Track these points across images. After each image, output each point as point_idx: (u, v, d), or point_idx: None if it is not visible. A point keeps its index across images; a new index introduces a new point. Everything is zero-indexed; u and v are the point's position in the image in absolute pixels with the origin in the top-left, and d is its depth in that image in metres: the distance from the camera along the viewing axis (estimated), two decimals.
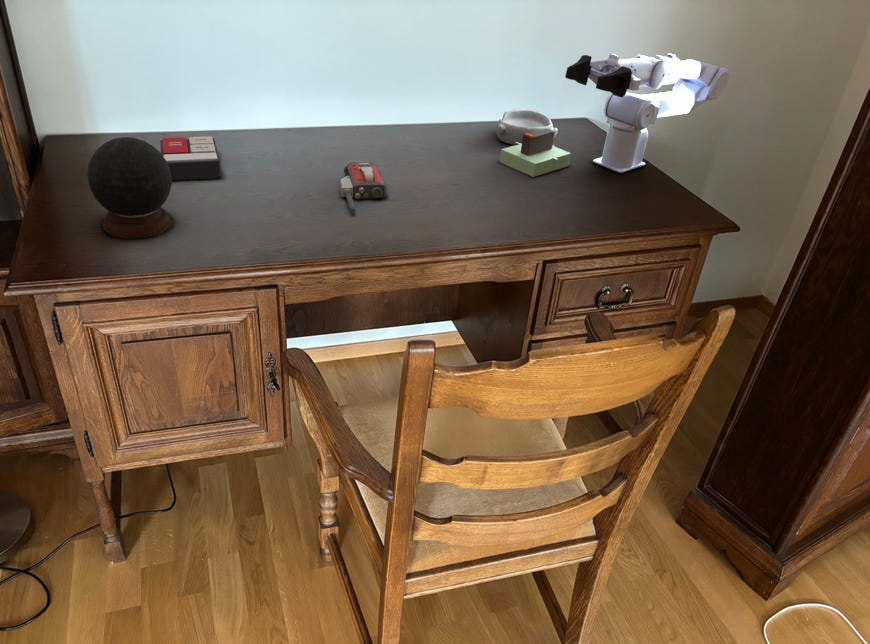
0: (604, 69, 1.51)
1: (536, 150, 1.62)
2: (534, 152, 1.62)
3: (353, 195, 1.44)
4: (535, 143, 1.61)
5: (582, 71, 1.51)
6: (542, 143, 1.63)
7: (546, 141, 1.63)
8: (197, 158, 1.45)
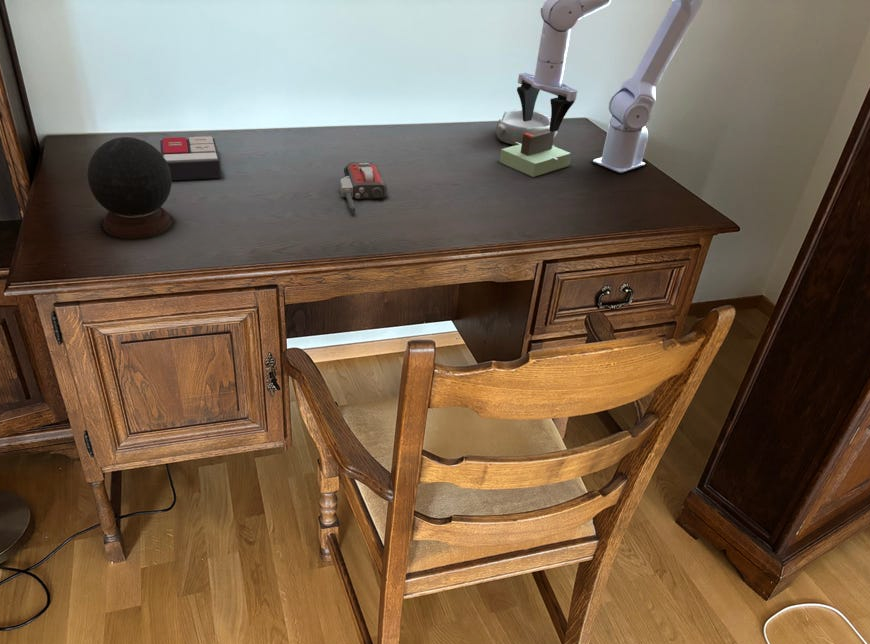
0: None
1: (536, 150, 1.62)
2: (534, 152, 1.62)
3: (353, 195, 1.44)
4: (535, 143, 1.61)
5: (530, 99, 1.60)
6: (542, 143, 1.63)
7: (546, 141, 1.63)
8: (197, 158, 1.45)
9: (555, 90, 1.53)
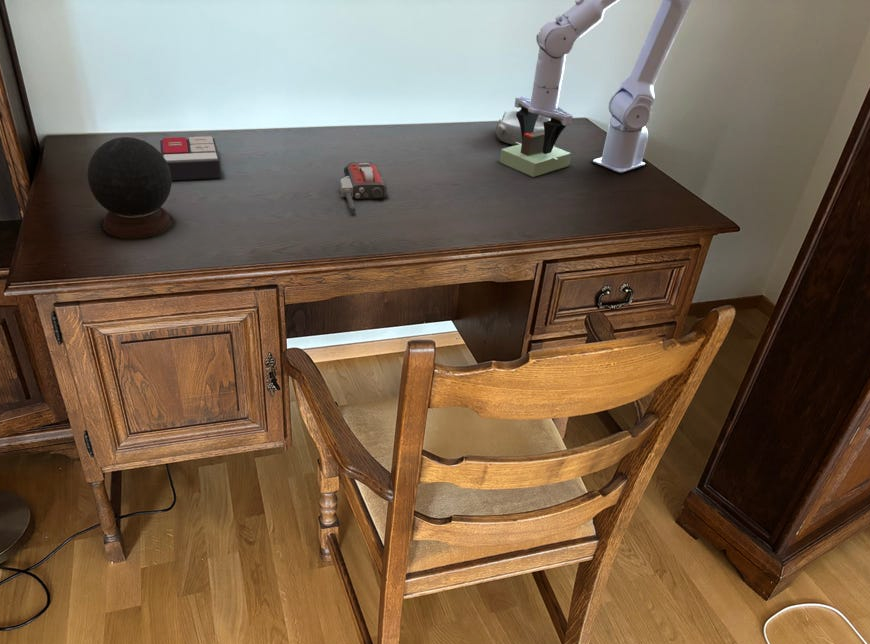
0: None
1: (536, 150, 1.62)
2: (534, 152, 1.62)
3: (353, 195, 1.44)
4: (535, 143, 1.61)
5: (529, 123, 1.63)
6: (542, 143, 1.63)
7: None
8: (197, 158, 1.45)
9: (551, 115, 1.56)
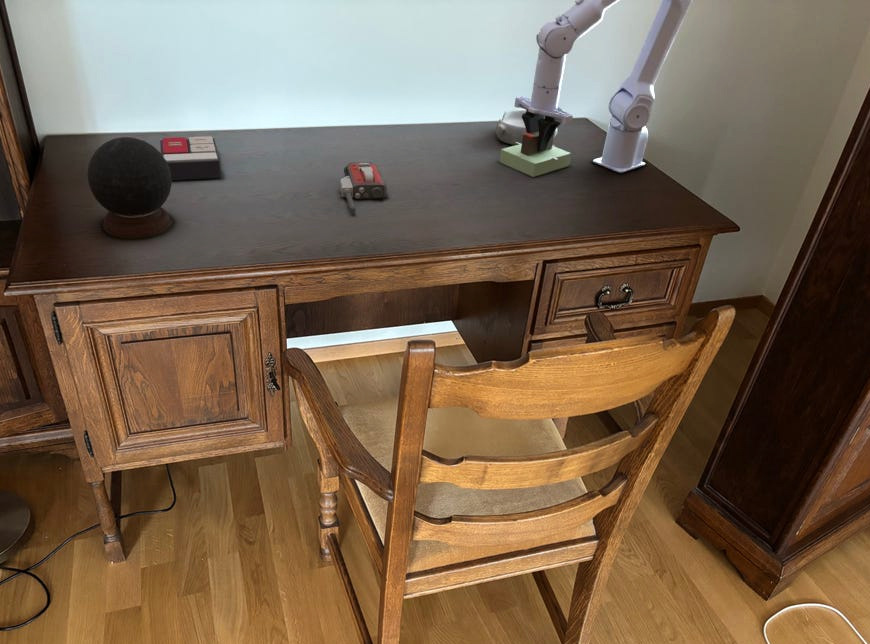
0: None
1: (536, 150, 1.62)
2: (534, 152, 1.62)
3: (353, 195, 1.44)
4: (535, 143, 1.61)
5: (535, 125, 1.62)
6: None
7: None
8: (197, 158, 1.45)
9: (551, 115, 1.56)
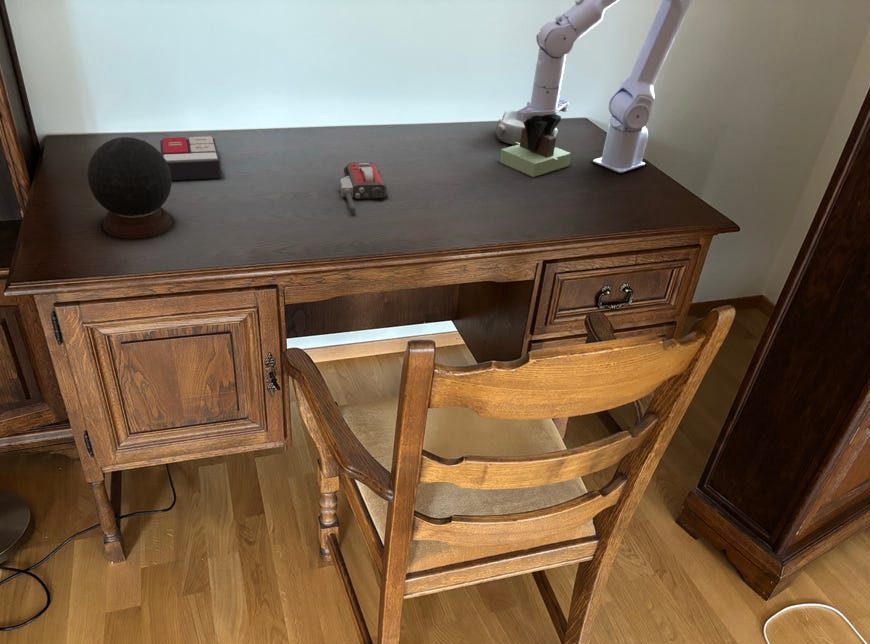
0: None
1: None
2: (526, 147, 1.65)
3: (353, 195, 1.44)
4: None
5: None
6: None
7: (540, 144, 1.61)
8: (197, 158, 1.45)
9: None
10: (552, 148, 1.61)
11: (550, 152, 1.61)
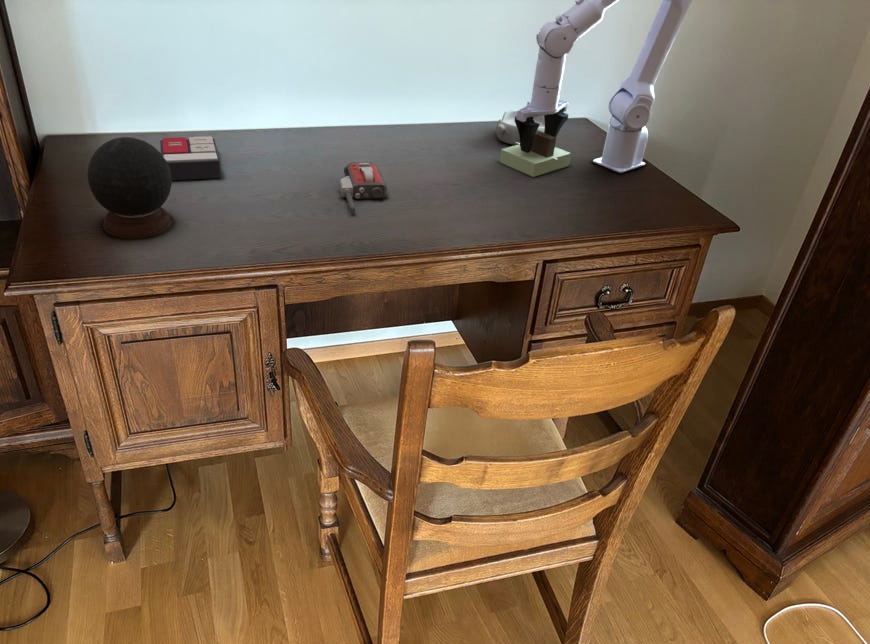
0: None
1: None
2: None
3: (353, 195, 1.44)
4: None
5: (551, 124, 1.63)
6: (535, 143, 1.62)
7: (540, 144, 1.61)
8: (197, 158, 1.45)
9: None
10: (552, 148, 1.61)
11: (550, 152, 1.61)
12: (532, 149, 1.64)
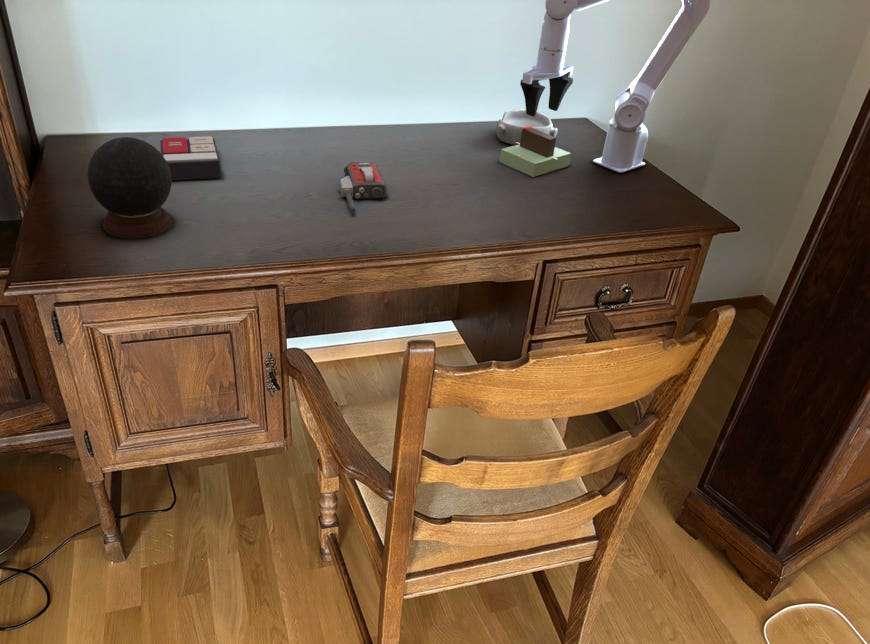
0: None
1: (528, 146, 1.64)
2: (526, 147, 1.65)
3: (353, 195, 1.44)
4: (527, 138, 1.63)
5: (556, 88, 1.66)
6: (535, 143, 1.62)
7: (540, 144, 1.61)
8: (197, 158, 1.45)
9: None
10: (552, 148, 1.61)
11: (550, 152, 1.61)
12: (532, 149, 1.64)
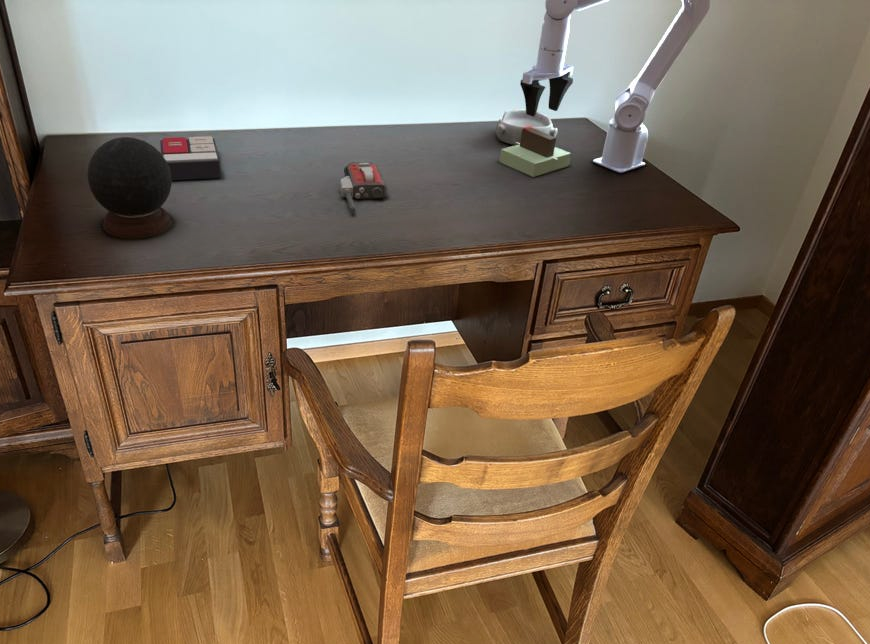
0: None
1: (528, 146, 1.64)
2: (526, 147, 1.65)
3: (353, 195, 1.44)
4: (527, 138, 1.63)
5: (556, 88, 1.66)
6: (535, 143, 1.62)
7: (540, 144, 1.61)
8: (197, 158, 1.45)
9: None
10: (552, 148, 1.61)
11: (550, 152, 1.61)
12: (532, 149, 1.64)
